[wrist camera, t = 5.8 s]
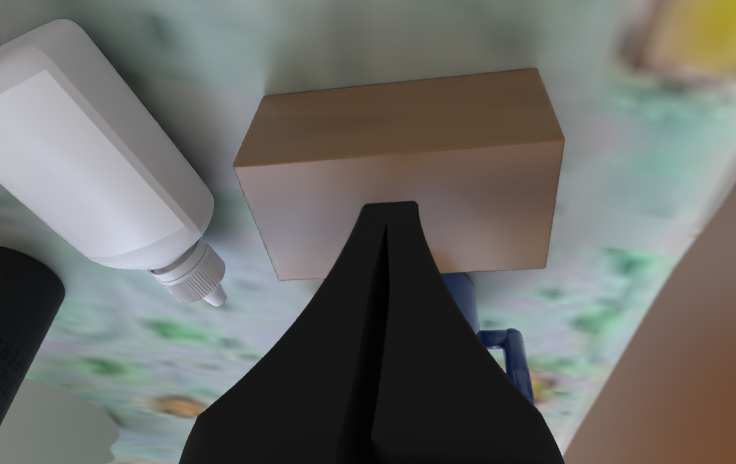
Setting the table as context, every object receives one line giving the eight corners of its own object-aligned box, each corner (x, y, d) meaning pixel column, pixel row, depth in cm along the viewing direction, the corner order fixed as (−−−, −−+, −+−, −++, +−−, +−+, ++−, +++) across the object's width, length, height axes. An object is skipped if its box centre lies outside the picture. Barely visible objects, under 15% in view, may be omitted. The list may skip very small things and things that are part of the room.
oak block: (526, 191, 19) (546, 269, 16) (297, 206, 20) (278, 281, 17) (537, 66, 15) (566, 138, 13) (262, 95, 17) (230, 165, 14)
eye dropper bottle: (-130, 133, 13) (167, 369, 20) (62, 22, 13) (285, 296, 20) (-74, 85, 16) (163, 303, 24) (78, -1, 16) (264, 241, 24)
